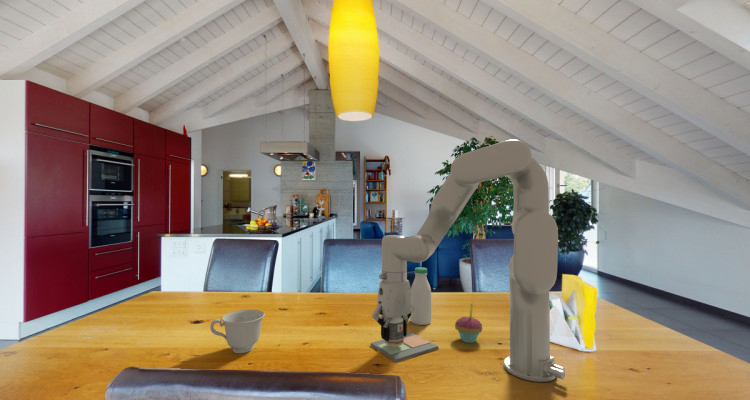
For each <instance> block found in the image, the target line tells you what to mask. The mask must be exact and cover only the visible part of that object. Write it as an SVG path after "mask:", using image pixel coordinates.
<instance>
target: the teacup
mask: <svg viewBox="0 0 750 400" xmlns="http://www.w3.org/2000/svg"><path fill="white" fill-rule="evenodd" d="M264 317H265V312H264V311H262V310H259V309H240V310H236V311H231V312H228V313H226V314H224V315H223V316H222V317H221V319H220V318H215V319H214V320H212V322H211V323H210V332H211V333H212V334H214V335H215V336H219V337H223V339H225V341H226V343H227V345H228V347H230V348H232V352H233V353H235V354H246V353H249V352H251V351H252V350H253V349H254V345H256V343H258V341H259V340H260V336H261V329H262V322H263V318H264ZM215 324H219V327H224V331H225V334H224V333H223V332H220V331H217V330H216V329H215V327H214V326H215Z"/></svg>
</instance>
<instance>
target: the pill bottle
mask: <svg viewBox="0 0 750 400" xmlns="http://www.w3.org/2000/svg"><path fill="white" fill-rule="evenodd" d="M387 327H389V341H386V340H385V343H386V344H387V345H388V346H393V347H396V346H400V345H402V344H403V342H404V335H403V334H404V333H403V318H402V317H401V316H399V317H394V318H390V319H389V323H388V326H387Z"/></svg>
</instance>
